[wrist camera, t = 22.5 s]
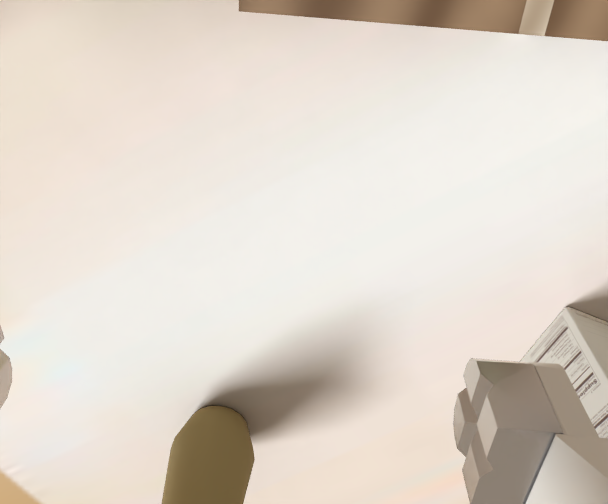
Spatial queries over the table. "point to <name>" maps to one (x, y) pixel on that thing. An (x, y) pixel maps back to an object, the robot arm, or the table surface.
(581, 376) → the supplement box
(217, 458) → the squeeze bottle
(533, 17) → the subfloor panel
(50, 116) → the table surface
